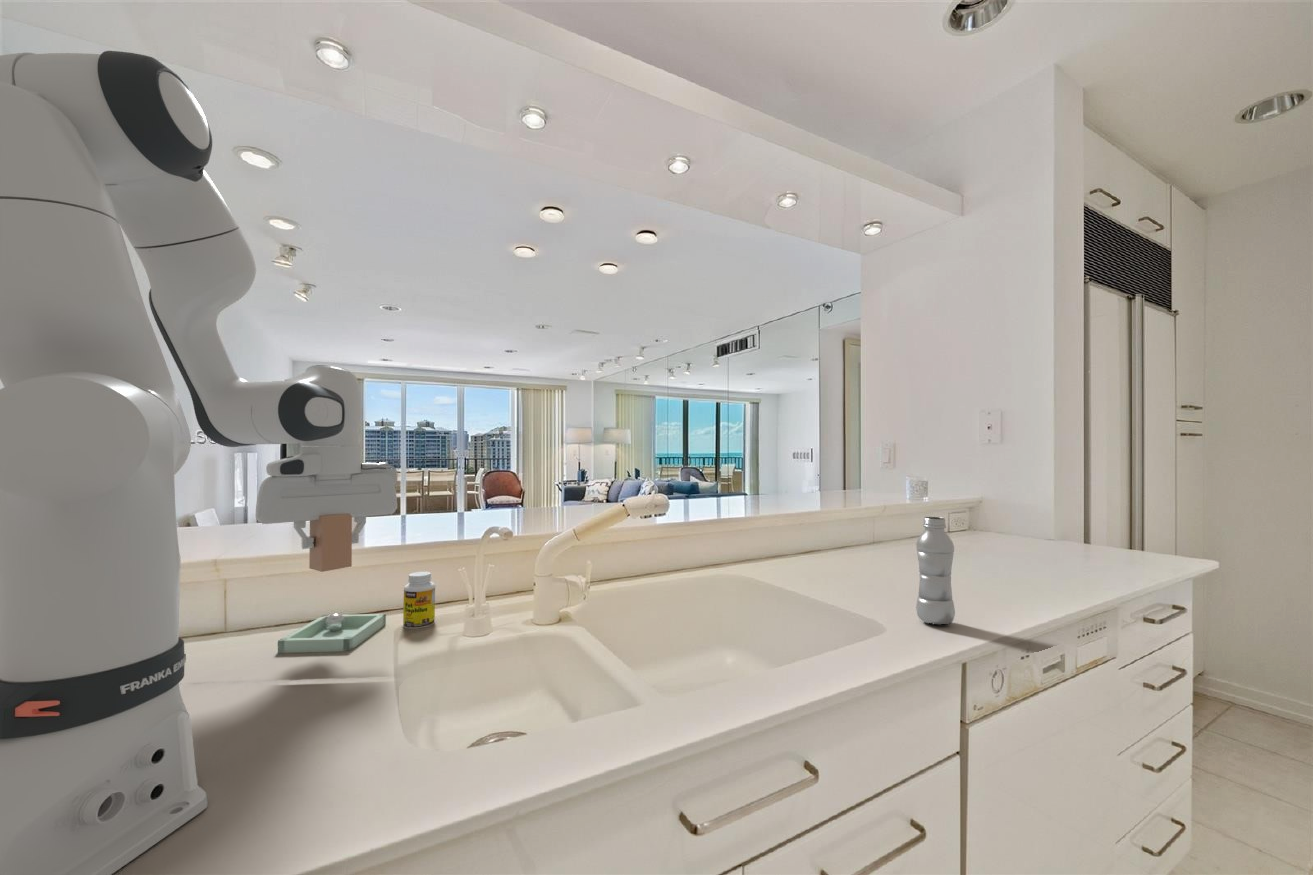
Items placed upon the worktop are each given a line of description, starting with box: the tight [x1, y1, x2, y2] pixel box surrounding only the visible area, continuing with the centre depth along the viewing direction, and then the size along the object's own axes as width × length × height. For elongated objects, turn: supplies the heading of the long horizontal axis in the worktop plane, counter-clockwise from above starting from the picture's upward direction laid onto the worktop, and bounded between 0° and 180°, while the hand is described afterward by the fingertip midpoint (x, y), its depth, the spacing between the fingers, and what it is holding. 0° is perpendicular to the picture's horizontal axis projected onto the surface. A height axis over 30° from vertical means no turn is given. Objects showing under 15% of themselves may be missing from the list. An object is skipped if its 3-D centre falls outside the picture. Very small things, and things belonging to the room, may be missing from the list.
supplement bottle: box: [402, 571, 436, 629], centre depth 97 cm, size 5×5×10 cm
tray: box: [277, 613, 387, 654], centre depth 90 cm, size 13×11×2 cm
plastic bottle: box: [915, 516, 956, 625], centre depth 100 cm, size 6×7×20 cm
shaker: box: [308, 514, 353, 573], centre depth 88 cm, size 5×5×10 cm
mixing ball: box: [325, 612, 345, 631], centre depth 93 cm, size 3×3×3 cm
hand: (330, 545), depth 88 cm, fingers closed on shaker, 5 cm apart
